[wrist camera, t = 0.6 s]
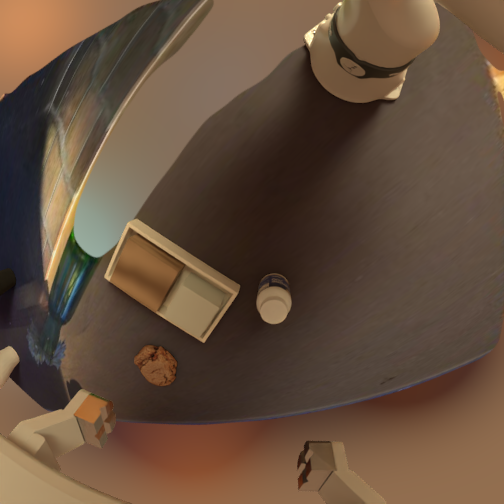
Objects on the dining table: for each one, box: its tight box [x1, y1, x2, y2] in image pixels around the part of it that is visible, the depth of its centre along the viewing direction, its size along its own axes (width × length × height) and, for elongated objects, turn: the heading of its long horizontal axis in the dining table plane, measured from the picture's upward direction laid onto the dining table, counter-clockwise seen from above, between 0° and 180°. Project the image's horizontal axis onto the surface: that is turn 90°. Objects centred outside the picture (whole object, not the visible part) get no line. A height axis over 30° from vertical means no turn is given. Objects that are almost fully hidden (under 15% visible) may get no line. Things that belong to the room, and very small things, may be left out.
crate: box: [105, 219, 241, 343], centre depth 50 cm, size 12×22×4 cm, turn 58°
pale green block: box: [164, 272, 225, 338], centre depth 49 cm, size 7×7×6 cm
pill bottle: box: [256, 273, 292, 324], centre depth 46 cm, size 5×5×10 cm
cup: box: [0, 346, 19, 389], centre depth 57 cm, size 10×10×14 cm
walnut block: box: [110, 233, 186, 313], centre depth 49 cm, size 9×10×5 cm
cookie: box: [134, 345, 177, 386], centre depth 57 cm, size 10×11×3 cm
